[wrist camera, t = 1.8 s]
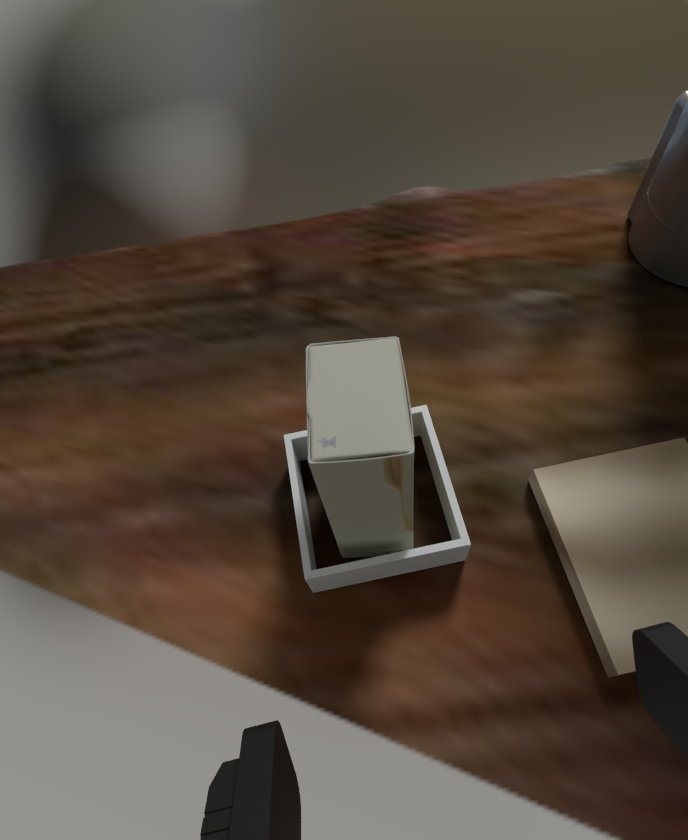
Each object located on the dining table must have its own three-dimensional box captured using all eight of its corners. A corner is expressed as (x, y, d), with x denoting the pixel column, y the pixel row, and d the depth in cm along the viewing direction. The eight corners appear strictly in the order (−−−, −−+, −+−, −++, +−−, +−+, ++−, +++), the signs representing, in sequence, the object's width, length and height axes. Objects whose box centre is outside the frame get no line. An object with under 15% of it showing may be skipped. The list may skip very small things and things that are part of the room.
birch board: (528, 480, 32) (533, 469, 31) (673, 449, 32) (684, 437, 31) (607, 677, 26) (618, 674, 25) (783, 639, 26) (802, 635, 25)
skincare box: (415, 554, 31) (419, 461, 20) (340, 560, 31) (305, 471, 20) (403, 455, 34) (401, 330, 23) (335, 461, 34) (303, 341, 24)
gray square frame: (292, 457, 35) (283, 434, 32) (425, 429, 35) (426, 404, 32) (313, 592, 30) (304, 579, 27) (465, 560, 30) (470, 544, 27)
